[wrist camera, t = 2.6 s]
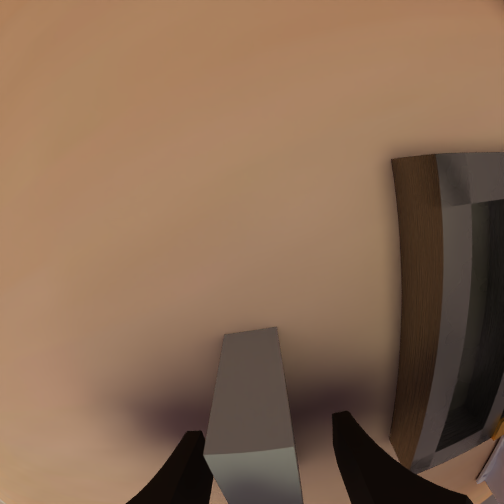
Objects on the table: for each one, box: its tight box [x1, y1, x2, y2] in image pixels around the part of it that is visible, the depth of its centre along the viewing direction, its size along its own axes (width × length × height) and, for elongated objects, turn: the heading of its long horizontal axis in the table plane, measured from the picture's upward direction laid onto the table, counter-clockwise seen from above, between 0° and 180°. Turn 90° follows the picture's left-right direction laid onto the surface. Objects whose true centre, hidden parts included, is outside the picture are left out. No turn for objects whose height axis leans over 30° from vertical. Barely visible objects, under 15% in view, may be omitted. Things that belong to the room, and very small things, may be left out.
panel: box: [203, 327, 304, 504], centre depth 9 cm, size 9×2×6 cm, turn 10°
